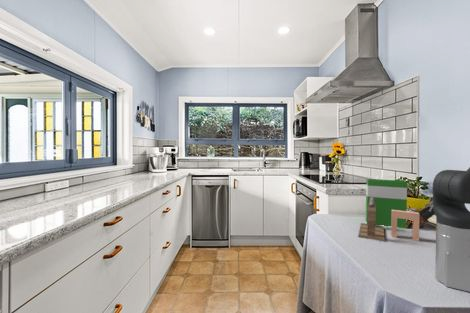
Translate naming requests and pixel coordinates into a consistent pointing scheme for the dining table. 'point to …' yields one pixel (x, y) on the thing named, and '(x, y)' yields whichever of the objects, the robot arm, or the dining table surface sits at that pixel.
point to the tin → (421, 220)
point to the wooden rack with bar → (371, 224)
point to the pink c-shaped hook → (405, 215)
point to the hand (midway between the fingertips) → (421, 216)
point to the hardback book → (387, 200)
